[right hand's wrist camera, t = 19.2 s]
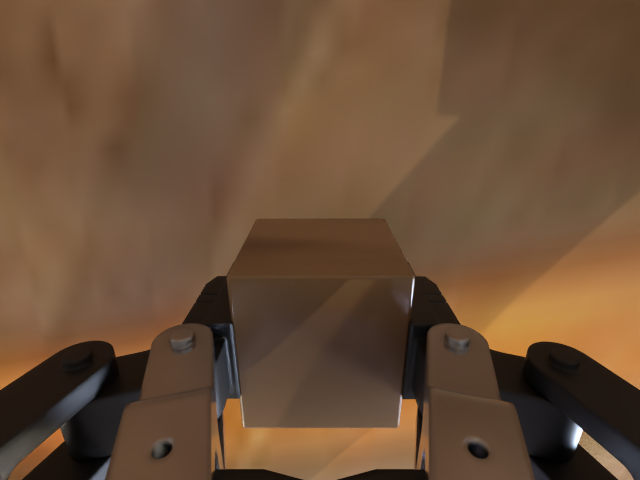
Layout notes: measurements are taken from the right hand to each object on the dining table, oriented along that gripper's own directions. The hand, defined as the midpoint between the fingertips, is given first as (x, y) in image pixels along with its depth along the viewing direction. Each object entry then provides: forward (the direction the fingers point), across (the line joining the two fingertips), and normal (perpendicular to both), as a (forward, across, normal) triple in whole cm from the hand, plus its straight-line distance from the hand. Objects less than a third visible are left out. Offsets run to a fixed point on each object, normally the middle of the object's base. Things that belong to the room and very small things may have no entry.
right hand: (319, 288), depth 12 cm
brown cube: (0, 0, 0) cm, 0 cm away
